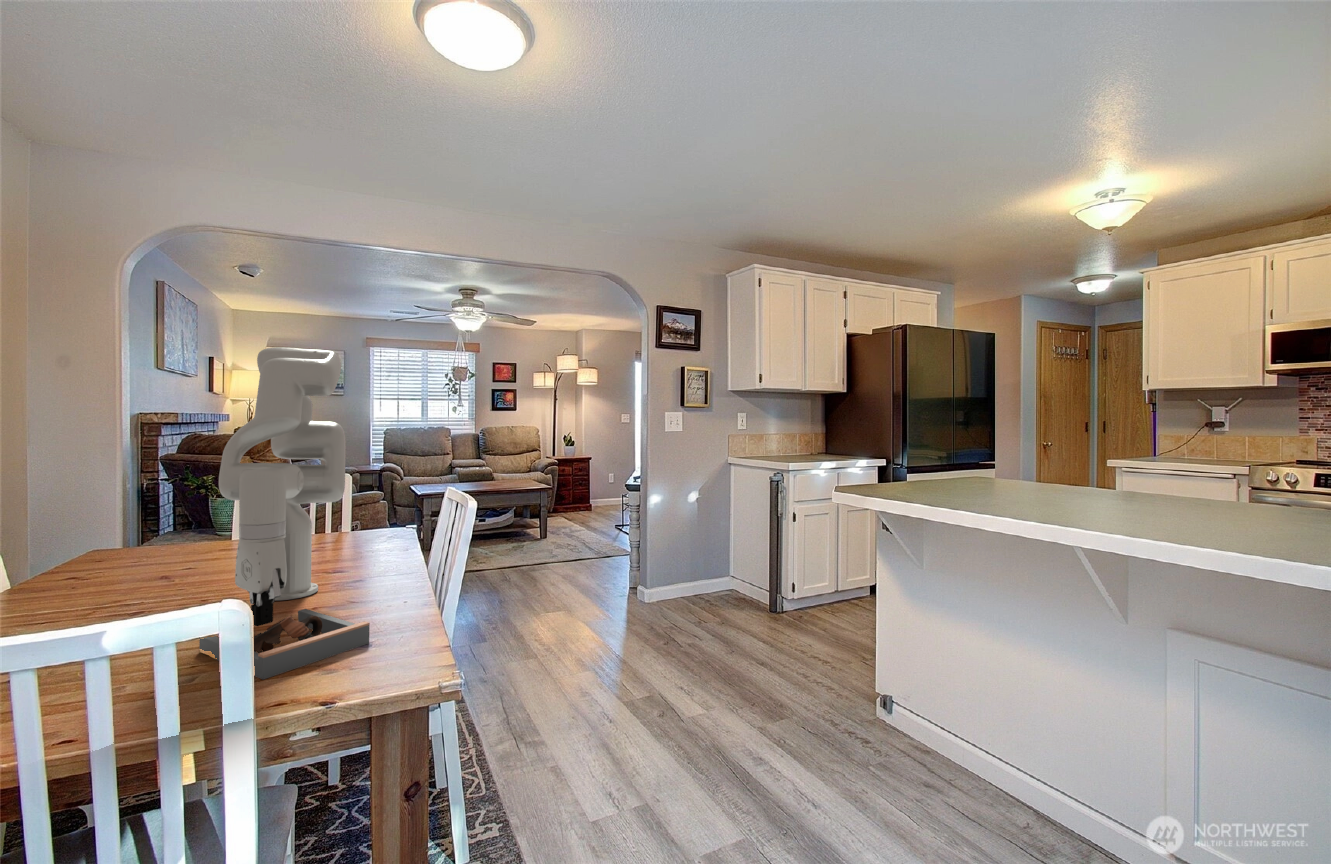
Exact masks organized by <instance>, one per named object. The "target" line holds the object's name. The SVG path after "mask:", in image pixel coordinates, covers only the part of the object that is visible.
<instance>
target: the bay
mask: <svg viewBox="0 0 1331 864" xmlns="http://www.w3.org/2000/svg"><path fill="white" fill-rule="evenodd" d="M313 615H315V616H318V617H319V618H320V619H321V621H322V630H321V632H320V634H319V635H318V636H315V637H311V638H308V639H305V640H301V641H299V640H298V641H295V642H292V643H288V644H285V645H282V646H279V647H274V649H272V650H269V651H265V652H262V653H257V652H255V651H254V666H255V676H254V677H256V678H258V679H259V680H266V679H269V678H272V677H275V676H278V675H281V674H284V673H286V672H290V671H292V670H295V669H299V668H302V667H304V666H307V665H309V664H313V663H315V662H318V661H321V660H324V659H328V658H330V657H334V656H337V655H338V654H341V653H346V652H348V651H351V650H355V649H356V648H360V647H363V646H365V645H368V644H370V626H371V625H370V622H369V621H362V622H357V623H354V622H351V621H347V620H345V619H341V618H337V617H335V616H331V615H327V614H324V613H321V612H319V611H318V612H317V611H315V610H311V609H307V608H304V609H299V610H298V611H297V621H301V620H303V619H305V618H307V617H309V616H313ZM308 629H309V630H311V631H312V630H313V625H312V624H311V623H310V624H309V626H308ZM213 636H214V637H207V638H204V639H200V638H199V639H200V640H199V644H198V645H199V646H198V648H199V649H202V650H204V651H211V652H212V654H214V655H215V658H217V660H216V661H217V662H220V661H219V638H220V637H218V636H215V635H213ZM199 649H198V650H199Z"/></svg>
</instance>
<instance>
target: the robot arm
mask: <svg viewBox="0 0 1331 864" xmlns="http://www.w3.org/2000/svg"><path fill="white" fill-rule="evenodd" d="M256 357H257V359H256V363H257V368H258V371H259V380H258V389H257V395H256V403H255V409H254V411H255V412H254V417H253V418H252V419H251V420H250V421H248V422H246V423H244V425H242V426H241V427H240V428H238V430H237V431H236V432H235V433H234V434H233V435H232V436H230V439H229V440H228V441H227V443H226V445H225V446H224V449H223V451H222V457H221V461H220V467H219V474H218V490H219V492H220V495H221V496H222V497H224V498H225V499H226V500H231V501H239V502H238V504H239V505H238V506H239V508H238V509H239V512H238V515H239V517H238V544H237V550H236V558H235V559H236V560H235V570H234V571H235V573H234V574H235V575H234V579H235V580H234V583H235V585H236V587H238V588H240V589H242V590H245V591H247V592H248V593H249V603H250V604H251V605H250V606H251V607H250V611H251V610H252V611H253V615H254V625H253V626H255V627H260V626H263V625H267V624H271V623H272V622H273V621H274V603H275V601H287V600H288V601H289V600H295V599H300V598H305V597H309V596H312V595H313V594H315V593H317V592H318V591H319V584H317V583H315V582H312V552H313V551H312V547H313V546H312V545H313V544H312V541H313V540H312V539H313V538H312V537H313V536H312V535H313V531H312V530H313V522H312V519H311V516H310V515H309V514H308V512H307V511H306V510H305V509H304V507H302V506H301V505H302V504H303V505H304V504H323V503H324V504H325V503H335V502H338V501H340V500H341V499H342V498H343V497H344V495H345V494H344V493H345V488H346V450H347V449H346V446H347V444H346V434H345V433H346V432H345V431H344V428H343V426H342V425H341V424H340V423H337V422H335V421H319V420H317V421H316V420H313V401H312V399H311V398H310V397H329V396H331V395H332V394H333V393H334V392H335V390H336V387H337V385H338V381H339V380H340V377H341V372H342V364H341V359H340V357H339V355H338V354H337V353H336V352H335V351H332V350H324V349H316V348H315V349H312V348H310V349H309V348H300V347H299V348H298V347H283V346H281V347H268V348H265V349H264V348H263V349H262V350H260V351H259V352H258V355H256ZM269 440H270V448H271V451H272V454H273V455H274V456H275V457H276V458H280V459H283V460H285V459H286V460H321V461H323V462H324V463H325V464H293V463H289V462H288V463H287V462H285V463H284V462H278V463H276V462H271V463H270V462H245V463H244V462H243V463H241V461H242V459H243V456H244V455H245V454H246V452H248V451H249V450H250V449H252V448H253V447H255V446H257V445H259V444H262V443H263V442H266V441H269Z"/></svg>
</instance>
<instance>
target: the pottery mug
mask: <svg viewBox="0 0 1331 864" xmlns="http://www.w3.org/2000/svg"><path fill="white" fill-rule="evenodd" d="M310 623H311V624H312V625H313V630H312V629H309V628H308V626H309V624H310ZM310 630H311V631H310ZM321 630H322V621H321V619H320V618H319V617H318V616H315V615H313V616H309V617H307V618H305V619H303V620H301V621H298V620H295V619H294V618H293V617H292V615H290V616H285V618H282V619H280V620H279V621H277V622H276V623H274V624H273V625H270V626H269V627H267V629H266V630H265V631H263V632H259V633H258V634H255V635H254V636H253V637H254V651H255V652H257V653H262V652H265V651H269V650H272V649H275V645H280V644H282V640H281V635H282V633H283V632H285V633H286V634H287V636H289V638H292V639H297V640H298V641H301V640H305V639H308V638H311V637H315V636H318V635H321Z"/></svg>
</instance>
